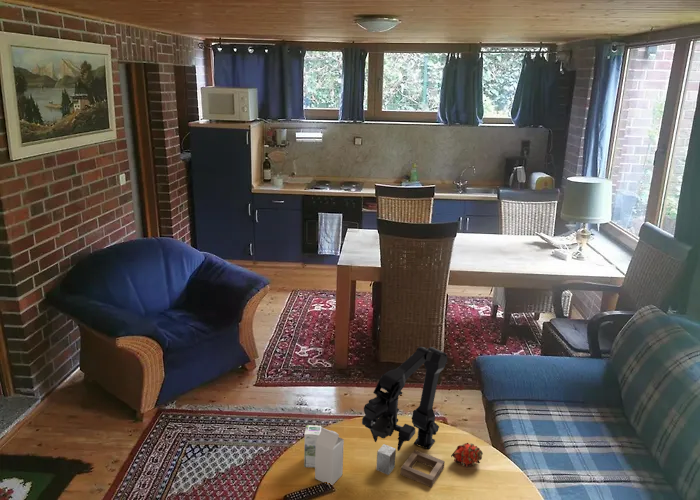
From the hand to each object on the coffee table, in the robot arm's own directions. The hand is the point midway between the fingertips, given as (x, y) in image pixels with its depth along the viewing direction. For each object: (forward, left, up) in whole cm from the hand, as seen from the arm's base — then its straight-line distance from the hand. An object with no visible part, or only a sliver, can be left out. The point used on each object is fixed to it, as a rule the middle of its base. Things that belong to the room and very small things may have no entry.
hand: (387, 445), depth 199 cm
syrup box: (+12, -24, -10) cm, 29 cm away
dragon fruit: (-19, +24, -10) cm, 32 cm away
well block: (-6, +12, -10) cm, 17 cm away
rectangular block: (0, 0, -10) cm, 10 cm away
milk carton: (+15, -15, -10) cm, 23 cm away
